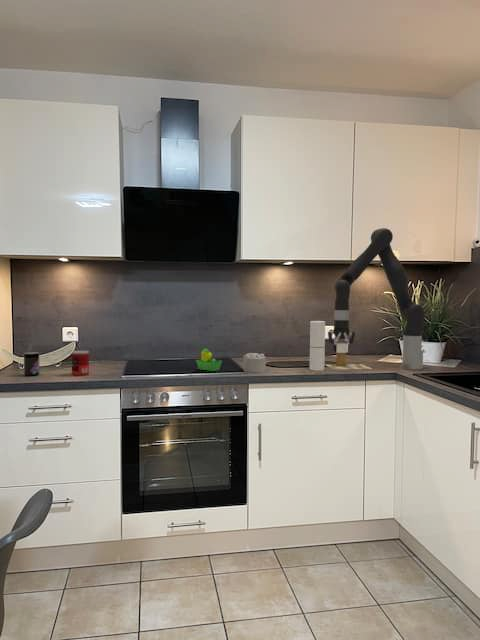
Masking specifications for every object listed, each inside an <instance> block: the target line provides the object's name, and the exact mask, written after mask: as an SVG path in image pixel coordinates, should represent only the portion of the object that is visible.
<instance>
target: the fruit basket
mask: <svg viewBox="0 0 480 640" xmlns="http://www.w3.org/2000/svg"><path fill="white" fill-rule="evenodd" d="M200 353H201V355H200V356H201V358H200V359H196V360H195V362H196V364H197V368H198V370H199V369H202V370H208V371H216V370H219V371H220V369H221V365H222V362H223V360H220V359H219V360H218V359H215V358H212V357H213V353H212V352H210V351H209V349H207V348H204V349H203V348H202V351H201V352H200ZM208 371H207V372H208ZM216 372H217V371H216Z"/></svg>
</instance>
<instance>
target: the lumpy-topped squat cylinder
mask: <svg viewBox="0 0 480 640" xmlns="http://www.w3.org/2000/svg"><path fill="white" fill-rule="evenodd" d="M242 358H243V368H242V370H243V372H245V373H250V374H263V373H265V372H266V356H265V354H264V353H260V354H259V353H257V352H249V353H246V354H245V355H243V357H242Z"/></svg>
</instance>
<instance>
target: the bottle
mask: <svg viewBox="0 0 480 640" xmlns="http://www.w3.org/2000/svg"><path fill="white" fill-rule="evenodd" d="M346 355H347V354H346V353H337V352H335V364H336V366H340V367H343V366H345V364H346V359H347V358H346V357H347V356H346Z"/></svg>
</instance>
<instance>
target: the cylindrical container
mask: <svg viewBox="0 0 480 640" xmlns="http://www.w3.org/2000/svg"><path fill="white" fill-rule="evenodd" d="M309 322H310V324H309V327H310V328H309V337H310V338H309V373H311V374H312V371H319V372H315V374H321V372H320V371H324V370H325V362H326V361H325V359H326V357H325V356H326V355H325V354H326V353H325V348H326V347H325V346H326V345H325V344H326V321H323V320H311V321H309Z"/></svg>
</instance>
